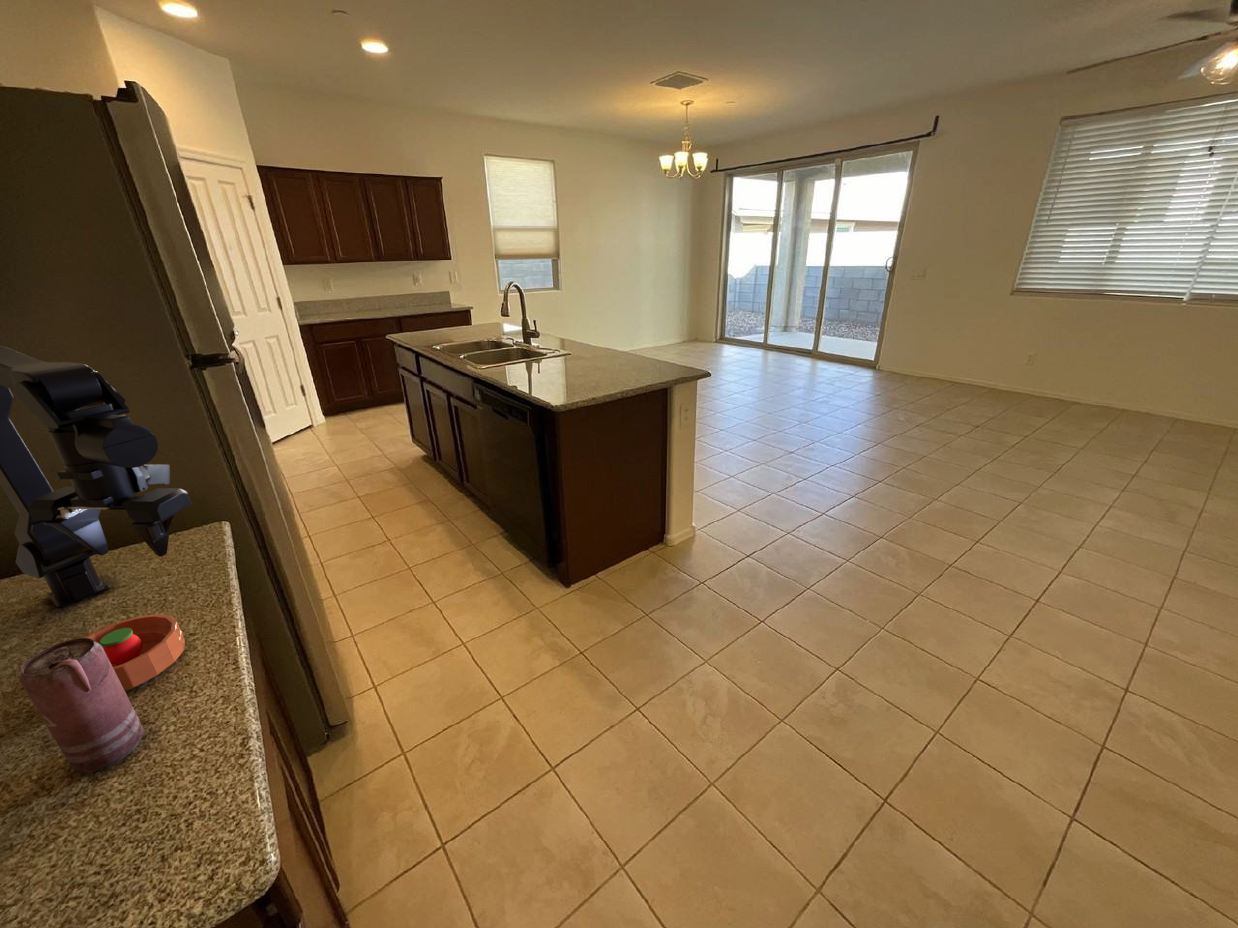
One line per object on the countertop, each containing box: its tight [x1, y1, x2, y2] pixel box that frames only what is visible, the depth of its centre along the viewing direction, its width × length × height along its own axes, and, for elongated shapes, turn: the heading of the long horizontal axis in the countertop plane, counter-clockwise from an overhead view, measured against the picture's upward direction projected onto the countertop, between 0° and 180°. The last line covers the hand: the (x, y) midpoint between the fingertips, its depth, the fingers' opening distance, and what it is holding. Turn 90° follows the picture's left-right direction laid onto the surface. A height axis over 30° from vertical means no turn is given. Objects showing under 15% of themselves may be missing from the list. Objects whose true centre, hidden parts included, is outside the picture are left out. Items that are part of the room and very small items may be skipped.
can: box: [18, 637, 145, 773], centre depth 55 cm, size 6×6×14 cm
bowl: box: [84, 613, 186, 692], centre depth 69 cm, size 12×12×4 cm
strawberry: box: [100, 628, 142, 666], centre depth 69 cm, size 4×4×5 cm
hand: (133, 554), depth 75 cm, fingers open, 9 cm apart
